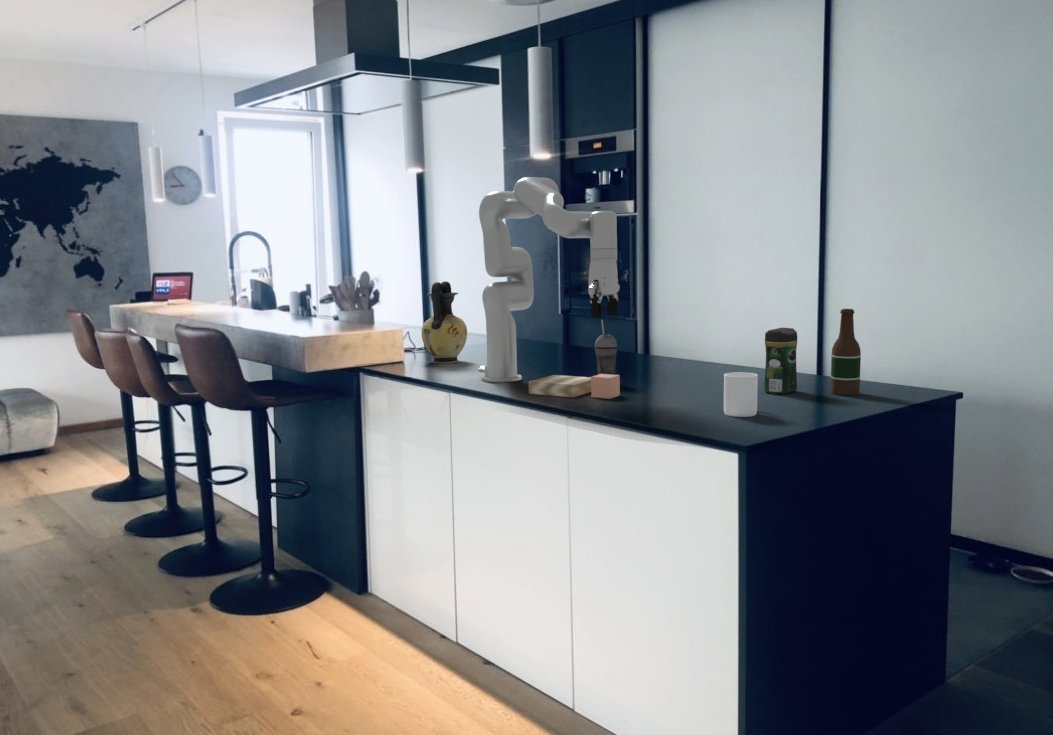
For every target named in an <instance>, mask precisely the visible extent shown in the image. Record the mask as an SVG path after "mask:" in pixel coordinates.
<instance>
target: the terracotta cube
mask: <svg viewBox="0 0 1053 735" xmlns="http://www.w3.org/2000/svg"><path fill="white" fill-rule="evenodd" d="M590 377H591V392H590V393H591V398H598V399H599V398H600V399H608V400H610V399H611V400H612V399H614V398H616V397H619V396H620V394H621V392H620V391H621V389H620V388H621V386H620V384H621V378H620V374H614V375H610V374H599V375H598V374H596V375H592V376H590Z"/></svg>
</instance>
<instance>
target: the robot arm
mask: <svg viewBox="0 0 1053 735" xmlns="http://www.w3.org/2000/svg"><path fill="white" fill-rule="evenodd" d="M559 191H560V190H559V186H558V184H557V183H556V181H554V180H553V179H551V178H549V177H535V176H534V177H532V176H526V177H521V179H519V180H517V181H516V183H514V186H513V191H508V190H507V191H506V190H498V191H492V192H489V193H487V194H486V195H484V197H483V198H482V199H481V201H480V205H479V209H478V217H479V218H478V219H479V223H480V226H481V233H482V238H483V242H482V243H483V254H484V266H485V271H486V273H487V275H488V276H490V277H492V278H510V280H509V281H508V280H506V281H495V282H490V283H489V284H488V285H486V286H485V287H484V289H483V291H482V298H481V299H482V304H483V308H484V309H483V310H484V313H485V314H484V316H485V324H486V326H485V328H486V329H485V330H486V360H487V361H486V362H487V365H480V366H479V368H478V370H477V371H478V373H484V375H483V376H482V380H483V381H484V382H488V383H513V382H519V381H521V380H522V379H523V378H522V377H523V376H522V375H521V374H518V365H517V364H518V363H517V362H518V360H517V325H516V321H515V318H514V317H513V314H512V313H511V312H515V311H522V310H527V309H529V308H530V307H531V306H532V304H533V302H534V297H535V296H534V295H535V294H534V292H535V291H534V274H533V273H534V272H533V263H532V262H533V260H532V257H531V256H530V253H529V251H527V250H526V249H525V248H524V247H520V246H512V245H511V235H510V231H509V229H508V227H507V225H506V223H505V222H504V221H503V220H504V219H509V220H511V219H512V220H513V219H514V220H519V219H520V220H522V219H523V220H524V219H530V218H532V217H533V216H536V215H537V214H538V215H539V216H541V219H542V221H543V224H544V226H546V228H547V229H548V230H550V231H551V232H553V233H555V234H556V235H558V236H560V237H562V238H565V239H589V242H590V244H589V247H590V250H589V251H590V255H589V256H590V263H589V267H588V268H589V270H588V288H587V291H588V294H589V296H588V297H589V300H590V301H589V302H590V313H591V314H590V315H591V318H593V319H594V318H597V319H598V318H600V319H601V318H603V303H602V299H603V297H607V301H606V315H608V316H617V315H618V314H619V306H618V305H619V296H620V288H621V287H620V286H621V285H620V284H619V278H618V265H617V261H618V229H617V228H618V225H617V223H618V221H617V220H618V219H617V218H618V217H617V214H616V212H615V211H613V210H598V211H597V210H595V211H577V210H576V211H572V210H570V211H569V210H566V209H565V208H564V204H565V200H564V197H563V195H562V194H561V193H560V192H559Z"/></svg>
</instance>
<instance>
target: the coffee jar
mask: <svg viewBox="0 0 1053 735" xmlns="http://www.w3.org/2000/svg"><path fill="white" fill-rule="evenodd" d="M764 345H765V346H764V347H765V366H764V367H765V370H764V382H763V383H764V386H763V390H764V392H766V393H769V394H774V395H777V394H783V395H785V394H791V393H794V392H796V391H797V390H798V375H797V349H798V348H797V346H798V331H796V330H795V328H792V327H778V328H774V329H769V330H767V331H766V332H765V334H764Z"/></svg>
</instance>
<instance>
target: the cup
mask: <svg viewBox="0 0 1053 735" xmlns="http://www.w3.org/2000/svg"><path fill="white" fill-rule="evenodd" d="M758 376H759V375H758V374H757V373H753V372H745V371H743V372H742V371H738V372H726V373H724V374H723V413H724V414H725V416H728V417H737V418H748V417H754V416H756V415H757V413H758V385H759V384H758V382H759V381H758Z"/></svg>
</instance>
